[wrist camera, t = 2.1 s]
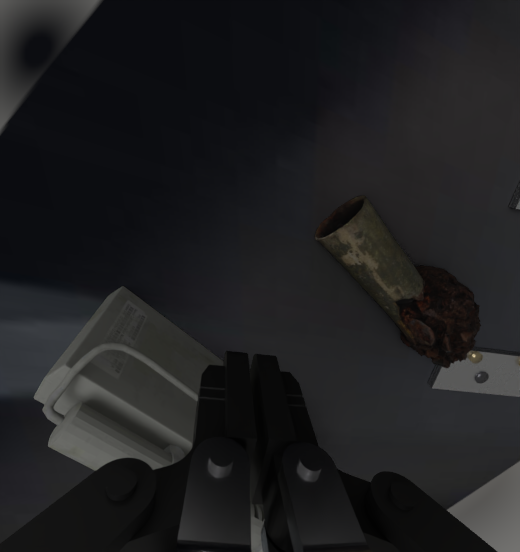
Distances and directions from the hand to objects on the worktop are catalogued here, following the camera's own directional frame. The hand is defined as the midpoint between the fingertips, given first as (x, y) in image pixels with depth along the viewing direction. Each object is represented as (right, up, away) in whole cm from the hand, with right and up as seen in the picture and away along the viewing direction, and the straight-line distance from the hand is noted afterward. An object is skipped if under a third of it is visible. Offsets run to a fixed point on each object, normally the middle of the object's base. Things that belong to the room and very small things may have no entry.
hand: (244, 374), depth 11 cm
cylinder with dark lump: (+13, +3, +19) cm, 23 cm away
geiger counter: (-3, -6, +21) cm, 22 cm away
